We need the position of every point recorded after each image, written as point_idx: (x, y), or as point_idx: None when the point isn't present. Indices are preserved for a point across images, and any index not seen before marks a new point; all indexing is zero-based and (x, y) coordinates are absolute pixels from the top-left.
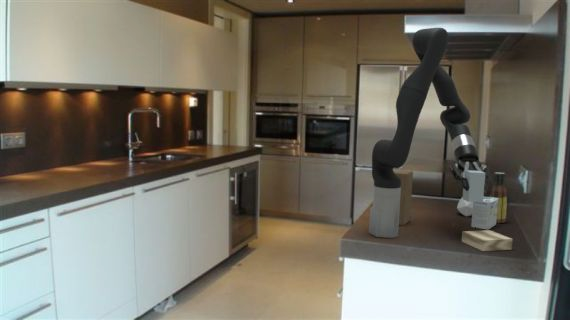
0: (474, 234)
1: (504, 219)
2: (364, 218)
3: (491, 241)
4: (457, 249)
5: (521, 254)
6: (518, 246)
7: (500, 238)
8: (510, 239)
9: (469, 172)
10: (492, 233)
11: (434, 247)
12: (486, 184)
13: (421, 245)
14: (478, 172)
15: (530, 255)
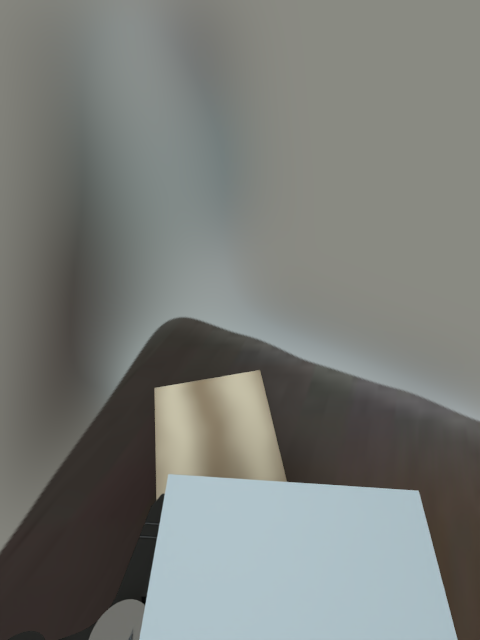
0: (258, 442)
1: None
2: None
3: (233, 375)
4: (323, 398)
5: (166, 356)
6: (116, 429)
7: (192, 392)
8: (163, 387)
9: (429, 554)
10: (181, 459)
11: (386, 418)
12: (144, 527)
13: (425, 439)
14: (275, 510)
15: (149, 348)
